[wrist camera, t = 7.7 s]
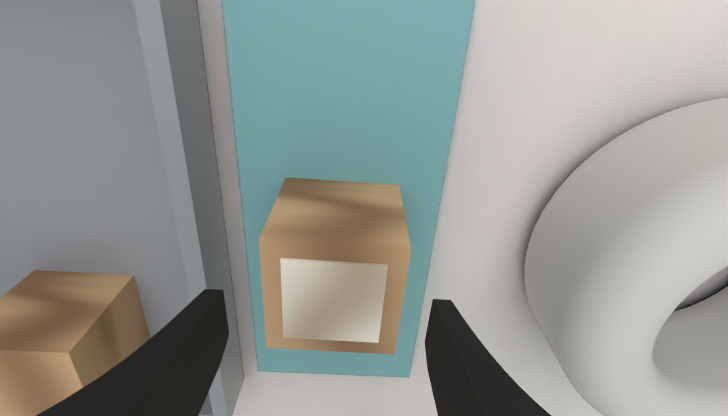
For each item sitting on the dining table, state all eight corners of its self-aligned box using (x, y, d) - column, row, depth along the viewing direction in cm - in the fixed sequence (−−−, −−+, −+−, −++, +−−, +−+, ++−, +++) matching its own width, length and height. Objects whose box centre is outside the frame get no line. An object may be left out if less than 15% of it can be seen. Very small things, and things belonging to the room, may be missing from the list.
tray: (6, 368, 24) (-38, 414, 21) (-258, -116, 13) (-418, -146, 10) (243, 378, 24) (229, 424, 22) (186, -83, 13) (142, -103, 11)
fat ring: (594, 379, 25) (665, 497, 19) (459, 228, 19) (500, 327, 14) (866, 250, 20) (1073, 355, 14) (787, 5, 15) (1066, 9, 9)
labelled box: (288, 268, 19) (265, 349, 15) (285, 177, 17) (257, 241, 13) (387, 274, 20) (394, 356, 15) (399, 184, 17) (411, 250, 13)
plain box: (63, 340, 22) (-11, 424, 18) (34, 270, 20) (-60, 347, 15) (152, 344, 22) (100, 428, 18) (133, 275, 20) (68, 353, 16)
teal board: (261, 360, 24) (257, 371, 23) (226, -20, 14) (219, -21, 14) (407, 366, 24) (409, 377, 23) (470, -2, 14) (475, -2, 14)
